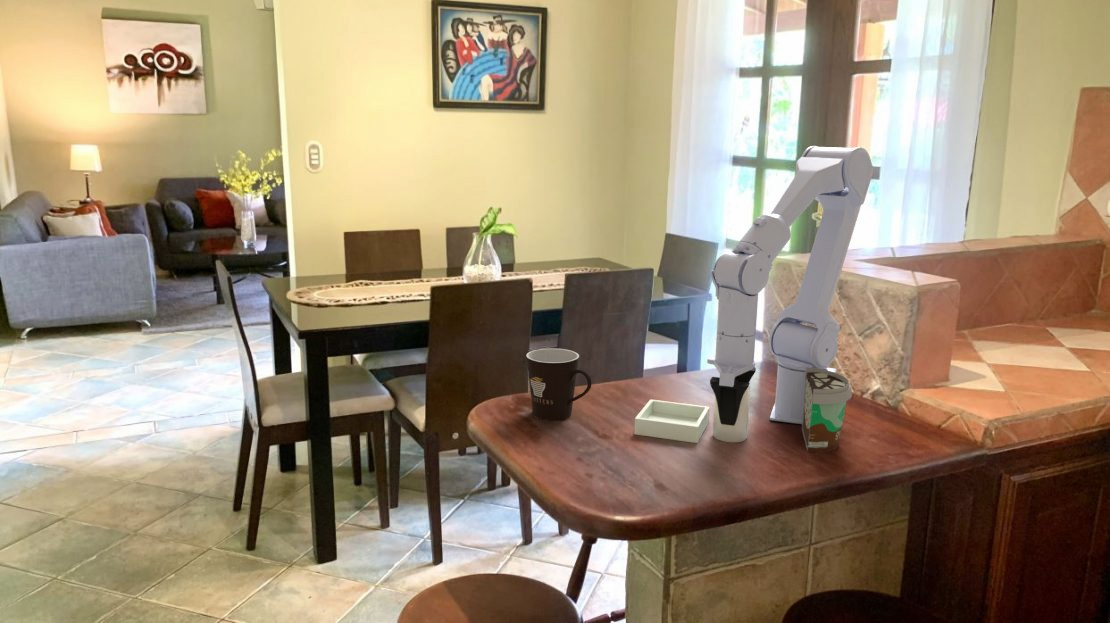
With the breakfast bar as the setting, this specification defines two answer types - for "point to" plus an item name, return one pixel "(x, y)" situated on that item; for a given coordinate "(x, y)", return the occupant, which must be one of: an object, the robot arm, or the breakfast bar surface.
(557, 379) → the coffee mug
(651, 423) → the tray
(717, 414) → the cup
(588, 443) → the breakfast bar surface
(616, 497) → the breakfast bar surface
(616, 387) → the breakfast bar surface
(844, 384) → the food container
